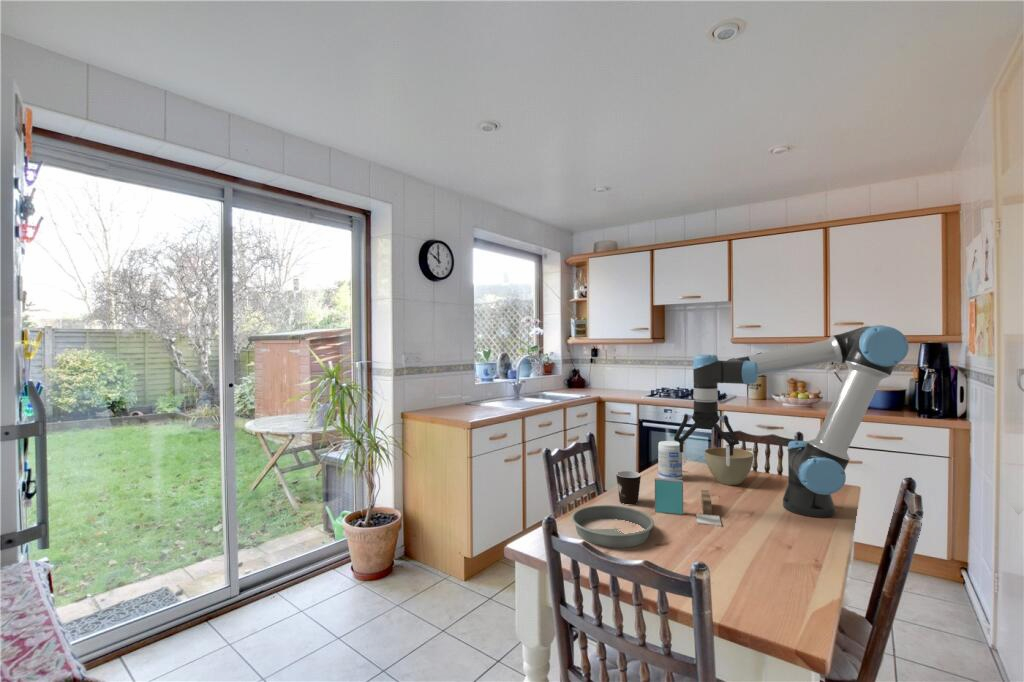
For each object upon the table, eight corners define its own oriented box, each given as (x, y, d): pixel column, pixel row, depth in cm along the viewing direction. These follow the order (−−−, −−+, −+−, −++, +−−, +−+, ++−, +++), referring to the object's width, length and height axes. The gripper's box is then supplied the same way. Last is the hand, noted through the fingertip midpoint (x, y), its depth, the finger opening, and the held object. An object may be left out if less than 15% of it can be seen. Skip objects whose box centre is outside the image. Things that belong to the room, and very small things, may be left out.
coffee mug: (641, 506, 167) (641, 478, 167) (616, 505, 168) (616, 477, 168) (639, 496, 178) (639, 469, 178) (616, 494, 180) (615, 468, 180)
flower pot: (738, 475, 203) (738, 446, 203) (763, 488, 185) (763, 457, 185) (697, 476, 202) (696, 447, 202) (717, 489, 184) (717, 458, 184)
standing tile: (655, 510, 164) (654, 477, 163) (683, 512, 161) (682, 480, 161) (654, 512, 161) (654, 479, 161) (683, 515, 159) (683, 482, 159)
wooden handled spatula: (694, 503, 170) (694, 489, 170) (715, 505, 168) (715, 491, 168) (697, 524, 151) (697, 508, 151) (721, 526, 149) (721, 510, 149)
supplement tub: (672, 483, 193) (672, 446, 193) (653, 477, 201) (653, 442, 201) (687, 478, 199) (686, 443, 199) (667, 473, 207) (667, 439, 207)
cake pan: (669, 532, 145) (669, 517, 145) (624, 559, 128) (624, 542, 128) (602, 512, 163) (601, 498, 163) (554, 533, 146) (554, 518, 146)
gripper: (744, 400, 160) (745, 463, 161) (666, 397, 168) (667, 458, 169) (748, 403, 153) (748, 469, 154) (666, 400, 161) (666, 463, 161)
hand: (705, 463), depth 161 cm, fingers open, 13 cm apart
